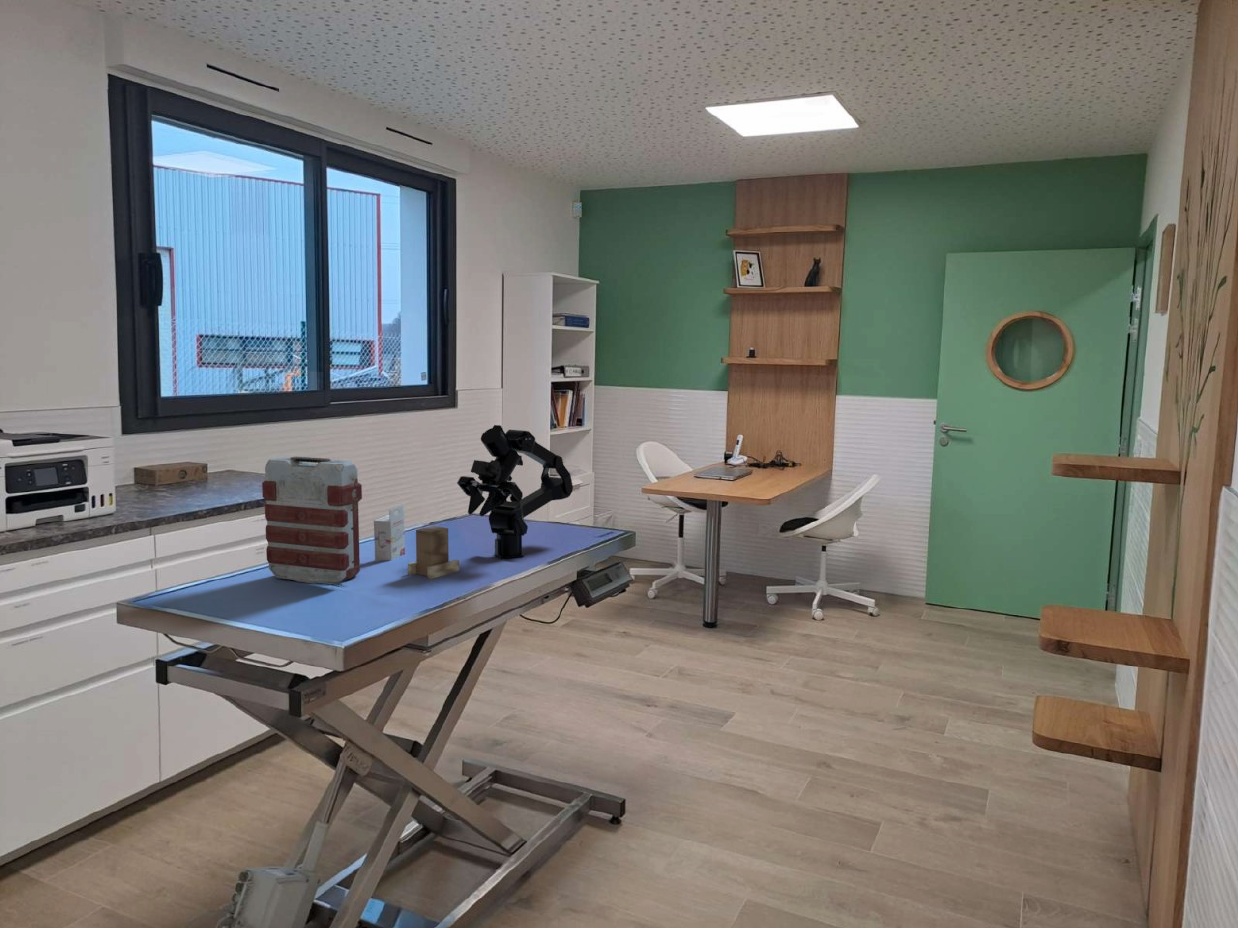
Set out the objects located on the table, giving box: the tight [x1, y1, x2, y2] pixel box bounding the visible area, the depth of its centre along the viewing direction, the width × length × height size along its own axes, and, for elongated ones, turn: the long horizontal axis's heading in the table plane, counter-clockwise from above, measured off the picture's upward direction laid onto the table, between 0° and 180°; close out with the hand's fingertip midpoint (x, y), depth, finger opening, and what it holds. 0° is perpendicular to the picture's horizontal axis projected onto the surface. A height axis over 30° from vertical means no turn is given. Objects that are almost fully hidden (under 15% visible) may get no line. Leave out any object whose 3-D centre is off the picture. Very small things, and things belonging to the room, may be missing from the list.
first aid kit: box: [261, 456, 363, 586], centre depth 218 cm, size 23×8×30 cm, turn 71°
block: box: [415, 525, 450, 577], centre depth 223 cm, size 6×5×11 cm
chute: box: [407, 559, 460, 580], centre depth 222 cm, size 18×10×4 cm, turn 147°
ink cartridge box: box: [373, 504, 406, 563], centre depth 239 cm, size 9×5×15 cm, turn 168°
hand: (474, 514), depth 235 cm, fingers open, 4 cm apart
